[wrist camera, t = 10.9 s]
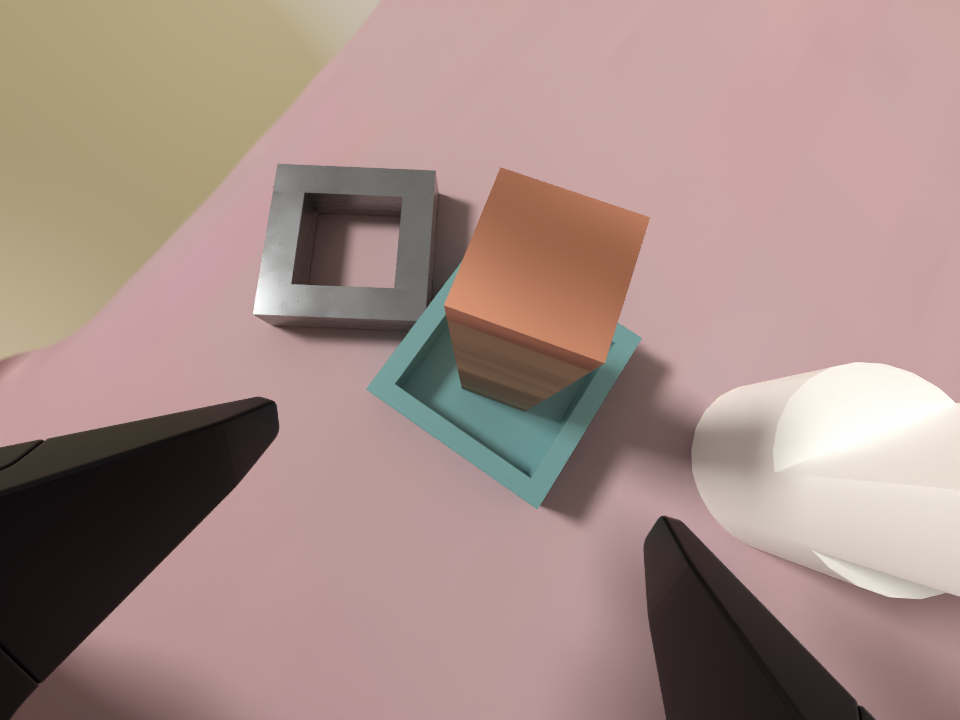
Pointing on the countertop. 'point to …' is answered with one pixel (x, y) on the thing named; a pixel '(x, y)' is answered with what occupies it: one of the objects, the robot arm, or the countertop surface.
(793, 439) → the cylinder with rectangular tab
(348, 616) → the countertop surface
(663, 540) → the robot arm
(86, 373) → the countertop surface
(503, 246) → the pin
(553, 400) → the tray
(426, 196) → the grey square flat frame
